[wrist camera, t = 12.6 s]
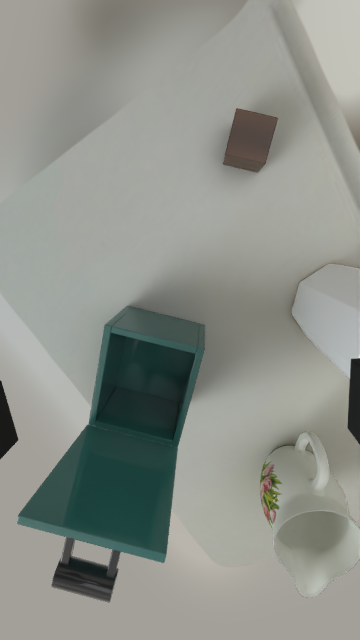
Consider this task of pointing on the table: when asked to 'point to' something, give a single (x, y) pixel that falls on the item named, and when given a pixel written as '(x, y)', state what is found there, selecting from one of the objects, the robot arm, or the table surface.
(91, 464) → the lid
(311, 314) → the cup
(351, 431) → the robot arm
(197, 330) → the tin
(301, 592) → the pitcher
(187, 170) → the table surface
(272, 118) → the block
